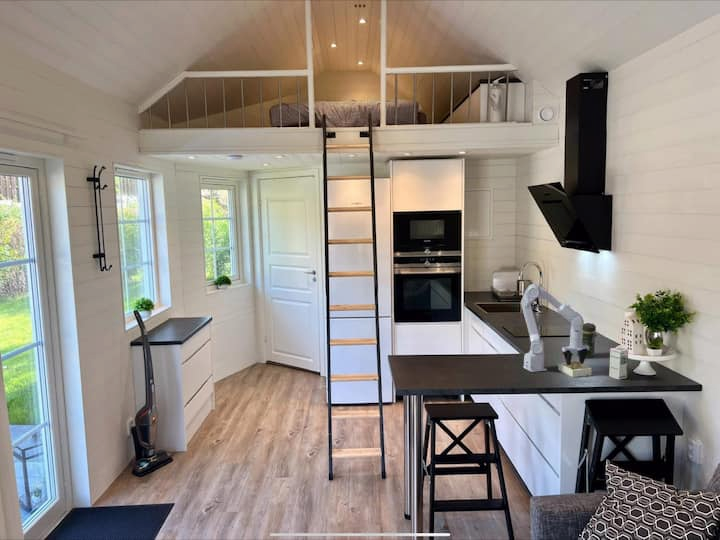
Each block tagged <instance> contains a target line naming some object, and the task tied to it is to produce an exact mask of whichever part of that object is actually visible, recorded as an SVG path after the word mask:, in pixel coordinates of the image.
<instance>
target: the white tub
mask: <svg viewBox="0 0 720 540" xmlns="http://www.w3.org/2000/svg"><path fill="white" fill-rule="evenodd" d="M557 366H558V367H557V368H558V372H561V373H563V374H565V375H567V376H569V377H570V378H579V376H580V377H588V376H592V371H593V369H592V367H589V366H588V365H587V366H586V365H585V364H584V363H583V364H581V369H575V370H573V369H571V368H569V365H567V364H566V362H562V363H561V362H560V363H558V365H557ZM587 375H588V376H587Z"/></svg>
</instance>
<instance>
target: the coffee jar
mask: <svg viewBox="0 0 720 540" xmlns="http://www.w3.org/2000/svg"><path fill="white" fill-rule="evenodd" d="M596 328H597V326H596V325H595V324H594V323H590V322H586V323H584V324H583V328H582V329H583V337H582V345H588V346H589V350H588V351H589V353H588V354H587V356H586V358H587V359H590V358H592V357H595V343H596V342H595V340H596V339H595V338H596V332H597V329H596ZM576 351H577V352H576V353H577V354H576V355H577V357H579V351H578V350H576ZM586 358H585V359H586Z"/></svg>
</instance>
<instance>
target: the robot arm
mask: <svg viewBox="0 0 720 540" xmlns="http://www.w3.org/2000/svg"><path fill="white" fill-rule="evenodd" d="M537 298H538V299H539V300H545V301H546V302H548V303H549V304H550V305H552V306H553V307H555V308H556V309H557V313H558V314H559V315H560V316H562V317H563V318H564V319H566V320H567V321H568V322H570V330H569V331H570V334H569V345H567V346H562V347H561V352H562V354H563V356H564V359H565V363H566V364H567V365H569V366H570V365H571V361H572V357H573V351H577V350H578V351H579V356H578V358H579V360H578V362H580V363H581V364H583V365H584V363H585V360H586V356H587V354H588V353H589V351H588V350H589V346H588V345H582V337H583V329H582V328H583V324H585V323H584V317H583V316H582V315H581V313H579V312H578V311H575V310H574V309H573V308H571V305H570V304H567V303H561V302H560V301H558V299H556V297H554V296H553V295H552V294H550V292H548V291H547V290H545V289H544V288H543V287H541V286H540V285H538V284H536V283H531V284H529V285H528V287H527V288H525V290H524V294H523V296H522V298H521V301H520V305H521V309H522V313H523V316H524V320H525V323H526V326H527V331H528V334H529V340H530V350H529V351H528V352H527V353H526V352H525V353H524V356H523V366H522V368H524V369H525V370H527V371H529V372H531V373H534V372H544V371H548V369H547V368H546V367H545V351H544V349H545V348H544V346H545V345H544V341H543V339H542V338H541V335H540V333H539V330H538V326H537V322H536V318H535V315H534V311H533V308H532V303H533V302H534V301H535V300H536V299H537Z"/></svg>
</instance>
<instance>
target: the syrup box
mask: <svg viewBox="0 0 720 540" xmlns="http://www.w3.org/2000/svg"><path fill="white" fill-rule="evenodd" d="M609 351H610V352H609V374H608V375H609V377H610V378H613V379H616V380H624V379H627V378H628V366H629V365H628V363H629V349H627V348H626V347H625V348H624V347H622V346H621V347H620V346H618V347H613V348H609Z"/></svg>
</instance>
